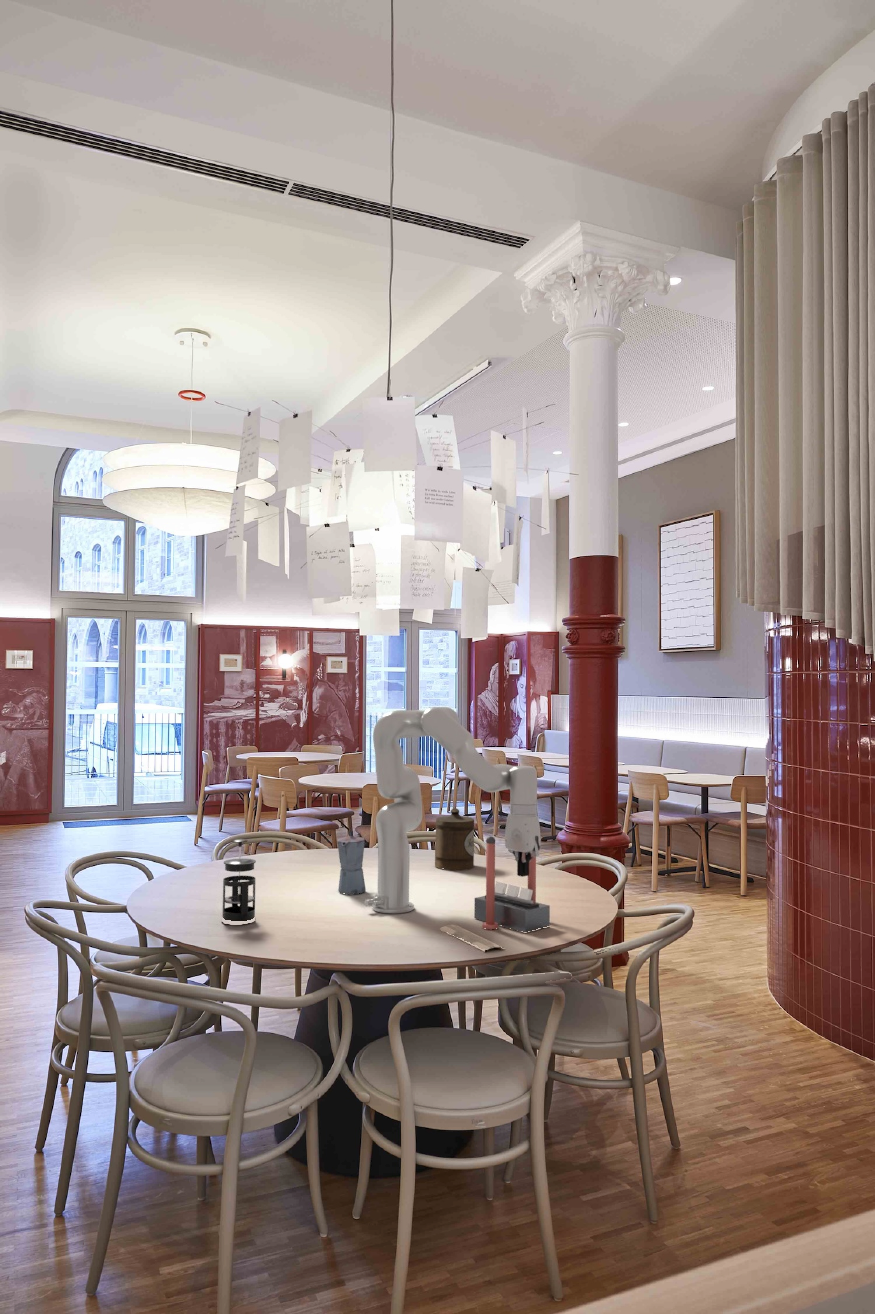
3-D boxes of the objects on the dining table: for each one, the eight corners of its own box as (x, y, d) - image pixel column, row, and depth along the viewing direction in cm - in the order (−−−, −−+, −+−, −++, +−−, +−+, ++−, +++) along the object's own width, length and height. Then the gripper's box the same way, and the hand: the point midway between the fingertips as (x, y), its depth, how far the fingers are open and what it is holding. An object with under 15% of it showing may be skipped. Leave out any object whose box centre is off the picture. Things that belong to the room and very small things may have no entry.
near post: (490, 931, 235) (490, 838, 236) (479, 927, 238) (479, 836, 240) (501, 928, 238) (501, 836, 239) (490, 925, 241) (490, 834, 242)
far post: (532, 920, 246) (532, 832, 247) (520, 917, 250) (521, 830, 251) (542, 918, 249) (542, 830, 250) (531, 915, 252) (531, 829, 254)
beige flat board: (504, 952, 218) (504, 945, 218) (481, 956, 214) (481, 949, 214) (458, 930, 238) (458, 923, 238) (436, 933, 235) (436, 926, 235)
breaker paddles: (530, 903, 238) (533, 890, 239) (489, 893, 250) (492, 880, 251) (533, 904, 238) (536, 891, 239) (492, 894, 250) (496, 881, 251)
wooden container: (477, 870, 319) (477, 810, 320) (437, 870, 317) (438, 811, 318) (470, 862, 334) (470, 805, 335) (432, 863, 332) (433, 806, 333)
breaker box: (525, 933, 233) (525, 908, 233) (474, 918, 248) (474, 895, 248) (549, 927, 240) (549, 903, 240) (498, 913, 255) (498, 890, 255)
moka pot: (329, 895, 275) (330, 833, 276) (346, 885, 290) (346, 826, 291) (357, 897, 273) (358, 834, 274) (372, 887, 288) (373, 827, 289)
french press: (217, 918, 245) (219, 837, 246) (249, 915, 250) (251, 835, 251) (227, 928, 235) (229, 844, 236) (261, 924, 239) (262, 841, 240)
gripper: (495, 808, 245) (494, 873, 244) (534, 814, 234) (533, 881, 233) (513, 806, 250) (513, 869, 249) (552, 811, 239) (552, 878, 238)
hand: (523, 875), depth 241 cm, fingers closed
